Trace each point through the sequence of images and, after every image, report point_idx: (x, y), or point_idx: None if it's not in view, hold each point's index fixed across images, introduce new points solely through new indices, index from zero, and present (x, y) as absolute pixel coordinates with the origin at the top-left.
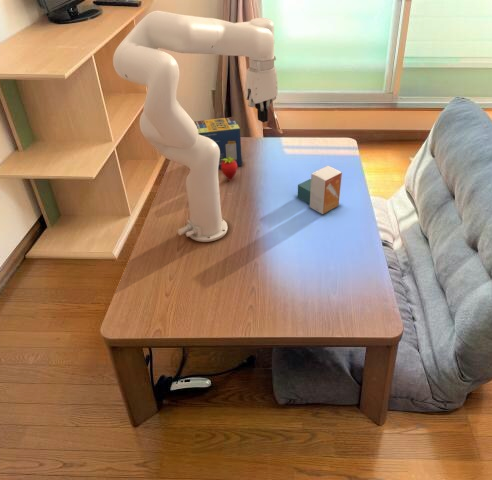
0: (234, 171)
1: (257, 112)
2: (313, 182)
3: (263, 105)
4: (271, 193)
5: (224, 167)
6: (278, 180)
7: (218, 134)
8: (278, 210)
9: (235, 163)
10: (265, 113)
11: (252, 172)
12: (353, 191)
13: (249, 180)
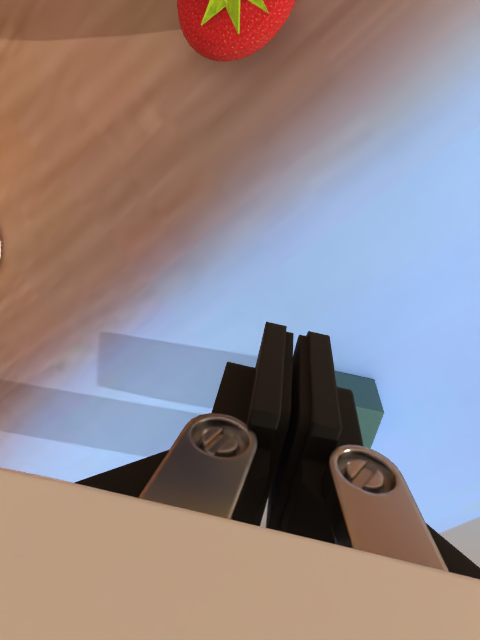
0: (225, 60)
1: (215, 403)
2: (265, 522)
3: (313, 528)
4: (270, 269)
5: (179, 3)
6: (382, 230)
7: None
8: (192, 355)
9: (254, 32)
10: (270, 495)
11: (382, 63)
12: (458, 495)
13: (303, 111)
